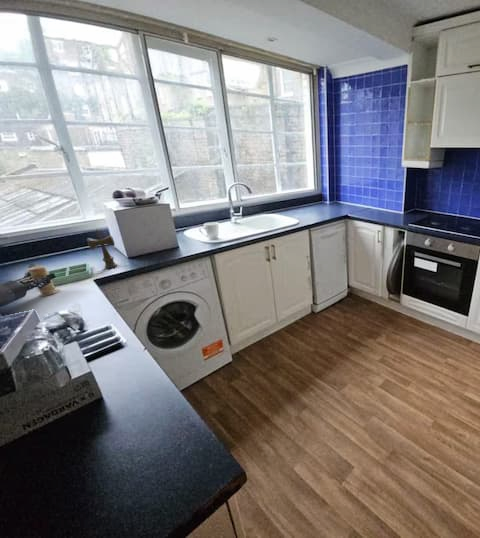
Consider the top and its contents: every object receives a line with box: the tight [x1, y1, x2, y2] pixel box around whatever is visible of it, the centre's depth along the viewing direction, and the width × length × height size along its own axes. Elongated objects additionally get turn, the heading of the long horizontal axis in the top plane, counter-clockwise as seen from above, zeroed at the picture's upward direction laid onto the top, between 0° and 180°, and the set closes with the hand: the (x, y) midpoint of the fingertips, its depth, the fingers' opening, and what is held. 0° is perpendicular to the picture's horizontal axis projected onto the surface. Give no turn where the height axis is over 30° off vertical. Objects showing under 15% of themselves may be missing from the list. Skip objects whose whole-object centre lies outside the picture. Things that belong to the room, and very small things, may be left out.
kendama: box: [86, 229, 118, 269], centre depth 147 cm, size 6×10×20 cm, turn 127°
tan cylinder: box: [27, 265, 58, 297], centre depth 123 cm, size 5×5×12 cm
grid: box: [47, 262, 92, 287], centre depth 140 cm, size 15×15×3 cm
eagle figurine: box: [22, 262, 36, 278], centre depth 140 cm, size 8×7×9 cm
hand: (47, 275), depth 125 cm, fingers closed on tan cylinder, 4 cm apart
